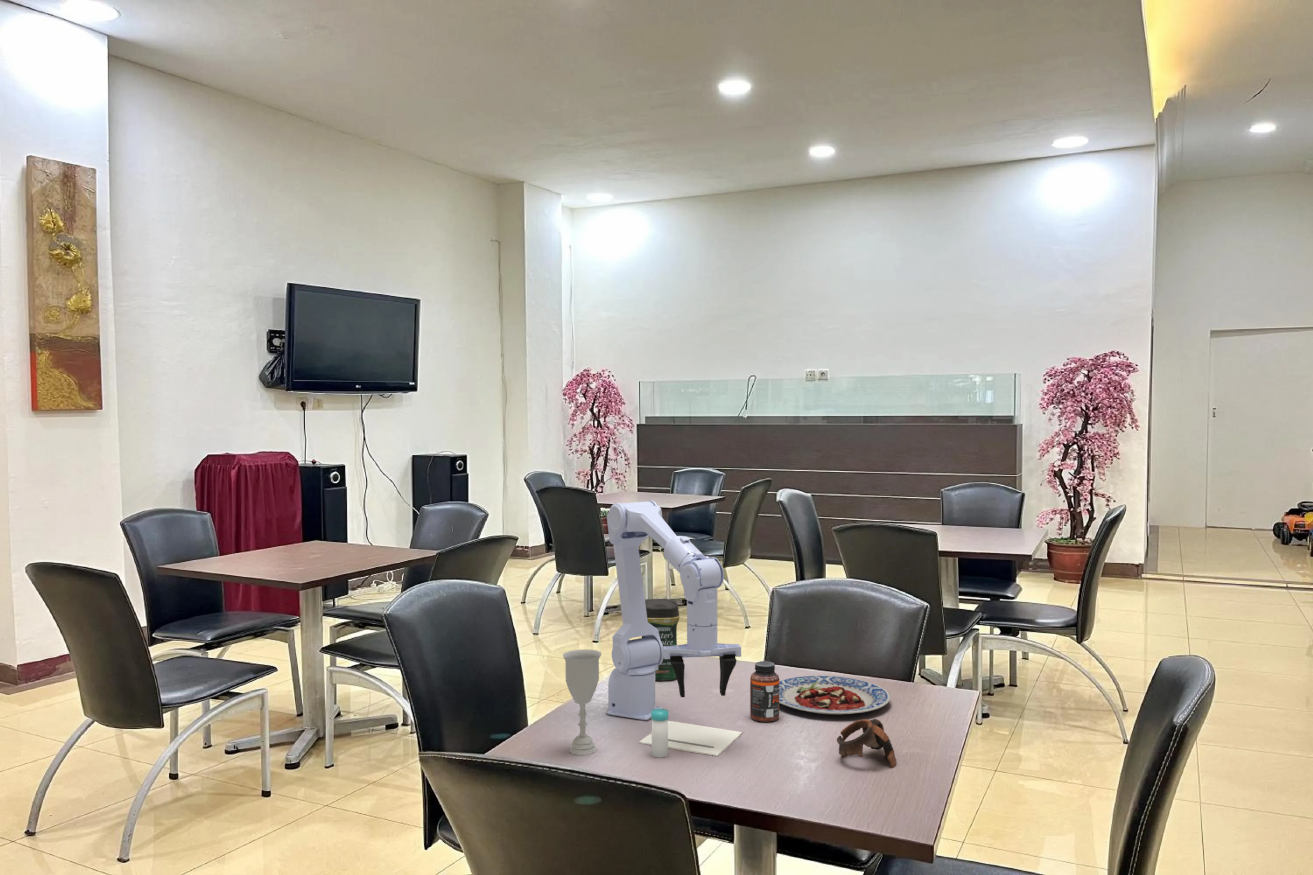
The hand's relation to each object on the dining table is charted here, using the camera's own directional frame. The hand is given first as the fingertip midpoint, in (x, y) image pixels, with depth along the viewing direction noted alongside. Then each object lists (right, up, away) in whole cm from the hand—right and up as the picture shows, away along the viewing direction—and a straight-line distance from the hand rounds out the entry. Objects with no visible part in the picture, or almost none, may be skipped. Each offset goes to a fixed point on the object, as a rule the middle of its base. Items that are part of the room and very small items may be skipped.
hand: (702, 694), depth 176 cm
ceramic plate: (+29, -9, +26) cm, 40 cm away
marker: (-8, -10, -4) cm, 13 cm away
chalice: (-22, -10, -2) cm, 25 cm away
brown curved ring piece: (+30, -10, -7) cm, 32 cm away
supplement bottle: (+14, -9, +16) cm, 23 cm away
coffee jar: (-8, -8, +45) cm, 46 cm away
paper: (-2, -10, +4) cm, 11 cm away
